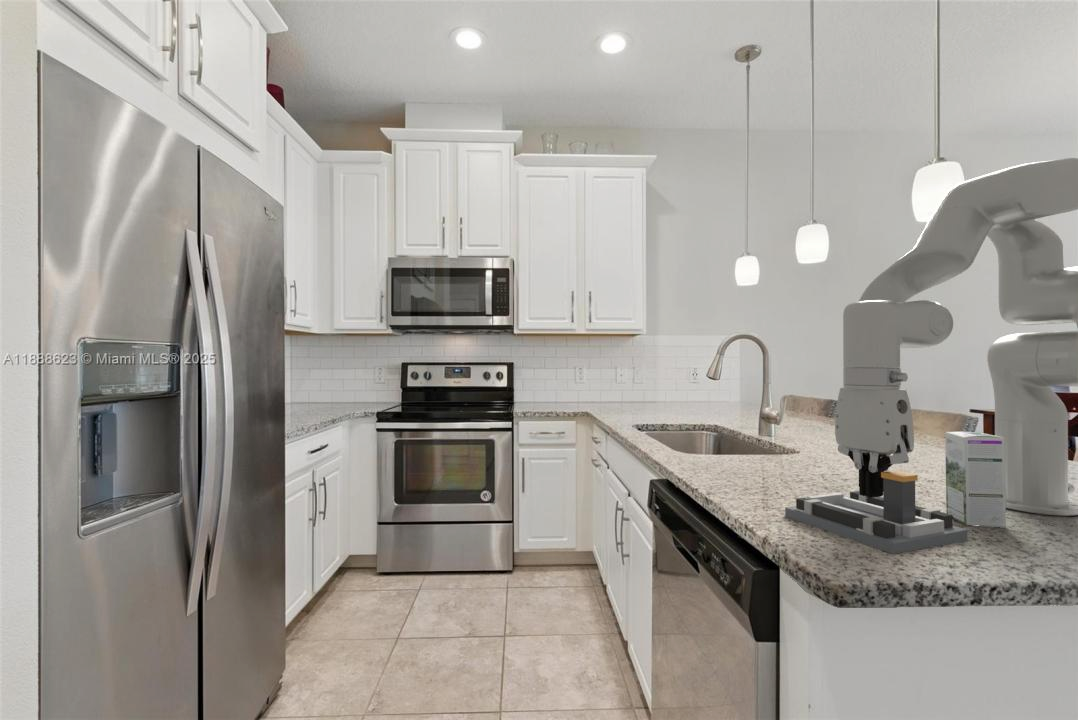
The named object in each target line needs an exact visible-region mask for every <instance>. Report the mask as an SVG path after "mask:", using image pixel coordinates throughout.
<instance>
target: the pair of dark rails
mask: <svg viewBox="0 0 1078 720" xmlns="http://www.w3.org/2000/svg"><path fill="white" fill-rule="evenodd" d="M849 498H851V499H855V500H859V501H862V502H866V503H870V504H873V505H877V506H881V507H883V496H880V497H872V498H870V497H867V496H862V495H860V494H859V491H858V490H855V491H850V492H849ZM795 501H796V502H795V504H796V505H795V506H796V508H797V509H800V510H803V511H804V513H806V514H809V515H815V516H818V517H821V518H824V519H827V520H830V521H833V522H836V523H839V524H842V525H846V526H849V527H852V528H855V529H856V528H859V529H862V530H863V532H864V533H867V534H870V535H872V533H874V535H876V536H879V537H882V538H885V539H888V538H894V537H895V524H892V523H889V522H885V521H884V519H883V518H879V517H876V516H875V517H868V516H865V515H861V514H858V513H855V512H851V511H848V510H844V509H841V508H838V507H834V506H831V505H827V504H824V503H822V501H821V500H817V499H813V500H810V499H807V497H799V498H798V497H797V498H795ZM915 516H918V517H922V518H926V519H929V520H932V519H940V520H943V521H944V528H951V527H953V526H954V525H953V524H954V523H953V521H954V519H953V515H950V514H947V513H946V512H942V511H941V509H938V508H934V507H929V508H926V507H922V506H918V505H915Z"/></svg>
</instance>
